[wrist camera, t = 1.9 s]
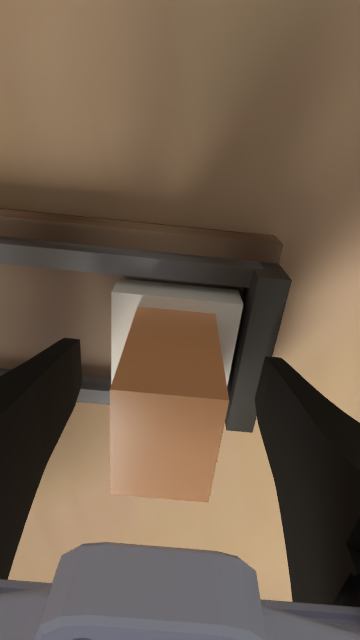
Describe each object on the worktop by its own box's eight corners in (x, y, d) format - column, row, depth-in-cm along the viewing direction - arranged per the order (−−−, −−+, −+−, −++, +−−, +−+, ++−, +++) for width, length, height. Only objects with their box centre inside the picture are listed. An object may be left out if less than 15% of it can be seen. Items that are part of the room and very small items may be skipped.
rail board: (-122, 363, 18) (-186, 407, 15) (-188, 189, 14) (-293, 200, 11) (239, 396, 19) (249, 445, 16) (274, 235, 15) (297, 258, 12)
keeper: (117, 376, 16) (77, 501, 10) (118, 278, 14) (68, 369, 8) (220, 385, 16) (237, 515, 10) (238, 289, 14) (273, 388, 8)
